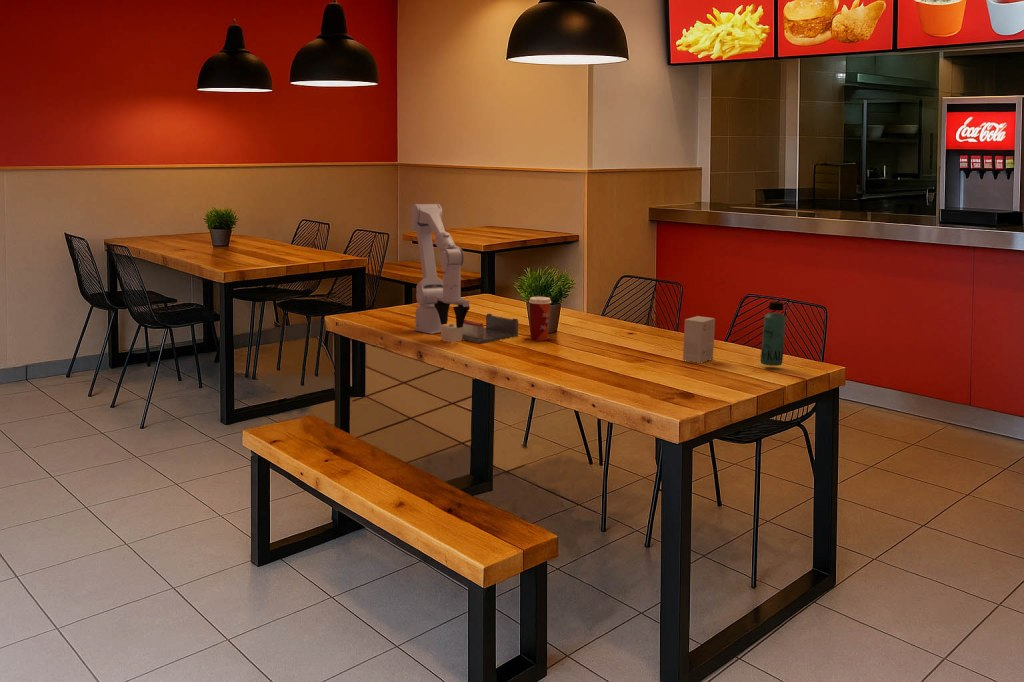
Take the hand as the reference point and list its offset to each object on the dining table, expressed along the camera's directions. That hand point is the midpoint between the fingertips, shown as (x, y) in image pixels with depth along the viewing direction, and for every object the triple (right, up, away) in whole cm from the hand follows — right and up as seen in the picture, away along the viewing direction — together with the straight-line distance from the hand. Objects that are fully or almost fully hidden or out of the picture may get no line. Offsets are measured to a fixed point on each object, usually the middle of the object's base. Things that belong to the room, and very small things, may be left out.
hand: (451, 325), depth 306 cm
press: (+11, -4, +8) cm, 14 cm away
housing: (0, -5, +1) cm, 5 cm away
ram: (+7, -3, +3) cm, 8 cm away
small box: (+77, -11, -21) cm, 81 cm away
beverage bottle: (+97, -13, -31) cm, 103 cm away
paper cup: (+29, -5, +6) cm, 30 cm away
